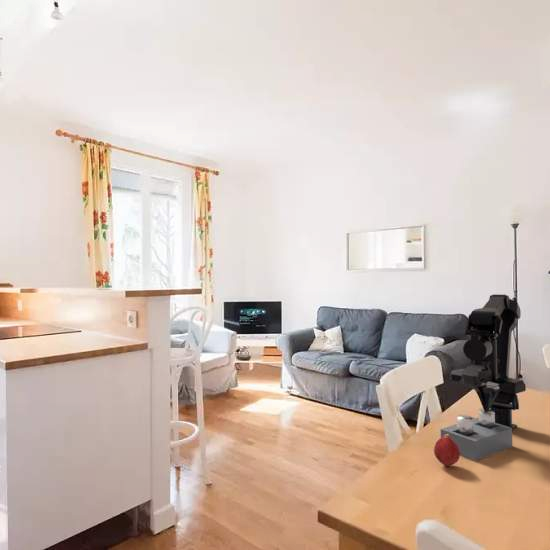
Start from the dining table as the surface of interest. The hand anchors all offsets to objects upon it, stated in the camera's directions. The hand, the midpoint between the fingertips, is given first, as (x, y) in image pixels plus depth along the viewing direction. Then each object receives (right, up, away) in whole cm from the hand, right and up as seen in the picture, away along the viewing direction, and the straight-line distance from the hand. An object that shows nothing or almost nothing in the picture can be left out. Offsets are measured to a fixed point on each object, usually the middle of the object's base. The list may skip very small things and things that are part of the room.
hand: (486, 411), depth 112 cm
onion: (-17, -9, -14) cm, 24 cm away
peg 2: (0, -5, 0) cm, 5 cm away
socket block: (-4, -9, -3) cm, 10 cm away
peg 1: (-9, -5, -5) cm, 11 cm away
